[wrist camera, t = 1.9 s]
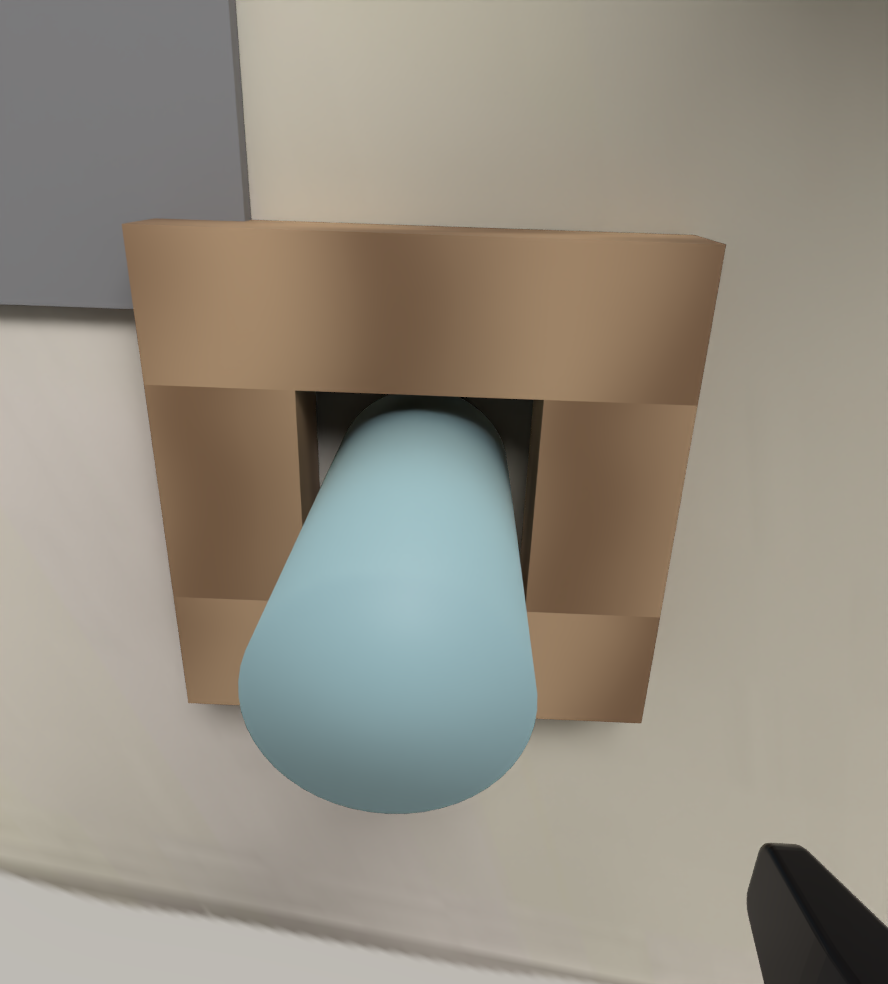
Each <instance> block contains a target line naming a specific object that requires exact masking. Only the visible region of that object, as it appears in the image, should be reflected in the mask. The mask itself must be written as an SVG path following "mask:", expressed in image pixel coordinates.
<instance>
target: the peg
mask: <svg viewBox="0 0 888 984" xmlns="http://www.w3.org/2000/svg"><path fill="white" fill-rule="evenodd" d="M238 693H239V702H240V707H241V713H242V715H243V718H244V721H245V724H246V727H247V729H248V731H249V733H250V735H251V737H252V739H253V740H254V742H255V744H256V745H257V746H258V748H259V749H260V751H261V752H262V754H263V755H264V756H265V757H266V758H267V759H268V760H269V762H270V763H271V764H272V765H273V766H274V767H275V768H276V769H277V770H279V771H280V772H281V773H282V774H283V775H284V776H286V777H287V778H288V779H289V780H291V781H292V782H294V783H295V784H297V785H298V786H300V787H301V788H303V789H304V790H306V791H308V792H310V793H312V794H314V795H316V796H318V797H320V798H322V799H325V800H327V801H330V802H332V803H335V804H338V805H342V806H345V807H348V808H352V809H357V810H362V811H367V812H375V813H385V814H407V813H418V812H425V811H430V810H435V809H440V808H444V807H447V806H450V805H453V804H456V803H459V802H461V801H464V800H466V799H468V798H470V797H473V796H474V795H476V794H478V793H480V792H481V791H483V790H485V789H486V788H488V787H489V786H491V785H492V784H493V783H495V782H496V781H497V780H498V779H500V778H501V777H502V776H503V775H504V774H505V773H506V772H507V771H508V770H509V769H510V768H511V767H512V766H513V765H514V763H515V762H516V761H517V759H518V758H519V757H520V755H521V754H522V752H523V750H524V749H525V747H526V745H527V743H528V741H529V739H530V736H531V733H532V731H533V728H534V724H535V719H536V714H537V688H536V680H535V672H534V665H533V657H532V649H531V641H530V634H529V626H528V618H527V610H526V603H525V595H524V587H523V580H522V572H521V564H520V556H519V549H518V541H517V533H516V525H515V518H514V510H513V502H512V494H511V487H510V479H509V471H508V464H507V457H506V452H505V448H504V445H503V442H502V440H501V438H500V436H499V434H498V432H497V431H496V429H495V427H494V426H493V424H492V423H491V422H490V421H489V420H488V418H487V417H486V416H485V415H484V414H483V413H482V412H481V411H479V410H478V409H477V408H476V407H474V406H473V405H471V404H470V403H469V402H467V401H465V400H463V399H461V398H459V397H454V396H428V395H402V394H390V395H388V396H385V397H383V398H381V399H379V400H377V401H376V402H374V403H372V404H371V405H369V406H368V407H367V408H366V409H365V410H363V411H362V412H361V413H360V414H359V415H358V416H357V417H356V419H355V420H354V421H353V423H352V424H351V425H350V427H349V428H348V430H347V432H346V434H345V436H344V438H343V440H342V442H341V445H340V447H339V449H338V451H337V453H336V455H335V458H334V460H333V462H332V464H331V466H330V468H329V471H328V473H327V475H326V477H325V479H324V481H323V484H322V486H321V488H320V490H319V492H318V494H317V497H316V499H315V501H314V503H313V505H312V507H311V510H310V512H309V514H308V516H307V518H306V520H305V522H304V525H303V527H302V529H301V531H300V533H299V535H298V538H297V540H296V542H295V544H294V546H293V548H292V551H291V553H290V555H289V557H288V559H287V561H286V564H285V566H284V568H283V570H282V572H281V574H280V577H279V579H278V581H277V583H276V585H275V587H274V590H273V592H272V594H271V596H270V598H269V600H268V602H267V605H266V607H265V609H264V611H263V613H262V615H261V618H260V620H259V622H258V624H257V626H256V628H255V631H254V633H253V635H252V637H251V639H250V641H249V644H248V646H247V648H246V650H245V653H244V656H243V659H242V662H241V666H240V673H239V680H238Z"/></svg>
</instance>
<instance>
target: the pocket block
mask: <svg viewBox="0 0 888 984" xmlns="http://www.w3.org/2000/svg"><path fill="white" fill-rule="evenodd" d="M122 231H123V238H124V245H125V252H126V260H127V267H128V274H129V281H130V288H131V295H132V303H133V310H134V317H135V324H136V331H137V338H138V345H139V353H140V360H141V367H142V374H143V381H144V388H145V396H146V403H147V410H148V417H149V424H150V431H151V438H152V446H153V453H154V460H155V467H156V474H157V481H158V489H159V496H160V503H161V510H162V517H163V524H164V532H165V539H166V546H167V553H168V560H169V567H170V574H171V582H172V589H173V596H174V603H175V610H176V617H177V625H178V632H179V639H180V646H181V653H182V660H183V667H184V675H185V682H186V689H187V696H188V703H200V704H222V705H240V702H239V693H238V680H239V673H240V666H241V662H242V659H243V656H244V653H245V650H246V648H247V646H248V644H249V641H250V639H251V637H252V635H253V633H254V631H255V628H256V626H257V624H258V622H259V620H260V618H261V615H262V613H263V611H264V609H265V607H266V605H267V602H268V600H269V598H270V596H271V594H272V592H273V590H274V587H275V585H276V583H277V581H278V579H279V577H280V574H281V572H282V570H283V568H284V566H285V564H286V561H287V559H288V557H289V555H290V553H291V551H292V548H293V546H294V544H295V542H296V540H297V538H298V535H299V533H300V531H301V529H302V527H303V525H304V522H305V520H306V518H307V516H308V514H309V512H310V510H311V507H312V505H313V503H314V501H315V499H316V497H317V494H318V492H319V490H320V487H319V463H318V439H317V416H316V392H315V391H322V392H349V393H375V394H402V395H428V396H454V397H481V398H507V399H533V410H532V422H531V434H530V446H529V458H528V471H527V483H526V495H525V507H524V519H523V531H522V543H521V556H520V564H521V572H522V580H523V587H524V595H525V603H526V610H527V618H528V626H529V634H530V641H531V649H532V657H533V665H534V672H535V680H536V688H537V714H536V719H557V720H579V721H602V722H624V723H641V722H642V716H643V711H644V705H645V699H646V694H647V688H648V682H649V677H650V671H651V665H652V660H653V654H654V648H655V643H656V637H657V632H658V626H659V620H660V615H661V609H662V603H663V598H664V592H665V586H666V581H667V575H668V569H669V564H670V558H671V553H672V547H673V541H674V536H675V530H676V524H677V519H678V513H679V507H680V502H681V496H682V490H683V485H684V479H685V474H686V468H687V462H688V457H689V451H690V445H691V440H692V434H693V428H694V423H695V417H696V411H697V406H698V400H699V394H700V389H701V383H702V378H703V372H704V366H705V361H706V355H707V349H708V344H709V338H710V332H711V327H712V321H713V315H714V310H715V304H716V299H717V293H718V287H719V282H720V276H721V270H722V265H723V259H724V253H725V248H726V244H722V243H719V242H716V241H712V240H709V239H706V238H702V237H699V236H696V235H676V234H647V233H618V232H589V231H559V230H530V229H501V228H472V227H442V226H413V225H384V224H355V223H326V222H296V221H267V220H249V221H217V220H188V219H159V218H154V219H148V220H142V221H136V222H130V223H124V224H122Z"/></svg>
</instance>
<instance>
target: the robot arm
mask: <svg viewBox="0 0 888 984" xmlns="http://www.w3.org/2000/svg"><path fill="white" fill-rule="evenodd" d="M747 910H748V916H749V921H750V925H751V929H752V934H753V938H754V942H755V946H756V951H757V955H758V959H759V963H760V968H761V972H762V976H763V980H764V984H888V927H887V926H886V925H885V924H884V923H883V922H881V921H880V920H879V919H878V918H877V917H876V916H875V915H874V914H873V913H872V912H871V911H870V910H869V909H868V908H867V907H866V906H865V905H864V904H863V903H862V902H861V901H860V900H859V899H858V898H856V897H855V896H854V895H853V894H852V893H851V892H850V891H849V890H848V889H847V888H846V887H845V886H844V885H843V884H842V883H841V882H840V881H839V880H838V879H837V878H836V877H835V876H834V875H833V874H832V873H830V872H829V871H828V870H827V869H826V868H825V867H824V866H823V865H822V864H821V863H820V862H819V861H818V860H817V859H816V858H815V857H814V856H813V855H812V854H811V853H810V852H809V851H807V850H806V849H805V848H803V847H802V846H799V845H796V844H783V843H766V844H764V845H763V846H762V847H761V848H760V850H759V853H758V856H757V860H756V863H755V867H754V870H753V874H752V877H751V881H750V884H749V888H748V892H747Z"/></svg>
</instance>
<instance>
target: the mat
mask: <svg viewBox="0 0 888 984" xmlns="http://www.w3.org/2000/svg"><path fill="white" fill-rule="evenodd" d="M154 218H159V219H188V220H217V221H249V220H251V212H250V198H249V184H248V170H247V156H246V142H245V128H244V114H243V101H242V87H241V73H240V59H239V45H238V31H237V17H236V3H235V0H0V304H7V305H35V306H62V307H90V308H118V309H133V303H132V295H131V288H130V281H129V274H128V267H127V260H126V252H125V245H124V238H123V231H122V224H124V223H130V222H136V221H142V220H148V219H154Z"/></svg>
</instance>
